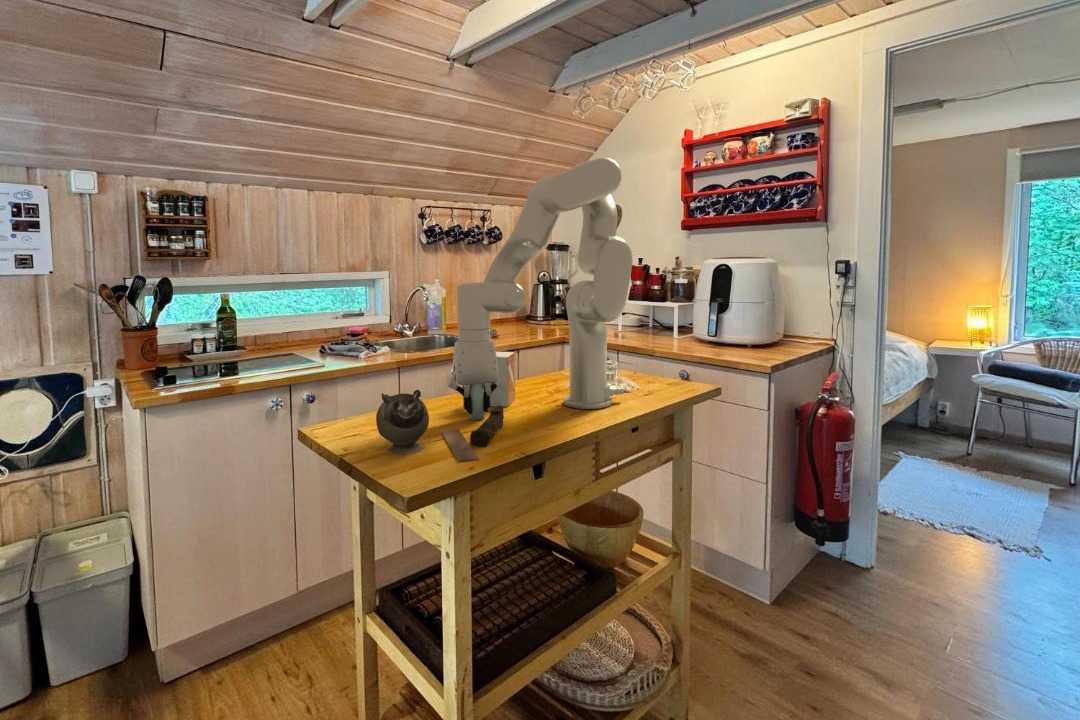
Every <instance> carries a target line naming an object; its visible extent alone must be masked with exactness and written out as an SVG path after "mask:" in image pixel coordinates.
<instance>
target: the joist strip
mask: <svg viewBox="0 0 1080 720" xmlns="http://www.w3.org/2000/svg"><path fill="white" fill-rule="evenodd" d="M440 433H441V434H442V437H443V438H444V440H445V442H446V443H447V445H448V447H449V448H450V450H451V453H453V455H454V457H455V459H456V461H457V462H458V463H462V462H470V461H471V462H472V461H479V460H480V458H479V456H478V455H477V453H476V451H475V450H474V449H473V446H472V445H471V443H469V441H468V440H467V438H466V437H465V436H464V434H463V433H462V431H461V430H460V429H459V428H456V429H455V428H454V429H447V430H441V431H440Z"/></svg>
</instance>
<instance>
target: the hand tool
mask: <svg viewBox="0 0 1080 720" xmlns="http://www.w3.org/2000/svg"><path fill="white" fill-rule="evenodd" d="M504 412H505V411H504V407H503V406H501V405H499V406H494V407H493V408H492V409H490V412H489V416H488V417H487V418H486V419H485V420H484V421H483V422H482V423H481V424H480V425H479V427H477V429H476V430H475V429H474V430H472V431H471V433H470V435H469V436H470V437H469V441H470V443H469V444H470V446H471V447H472V448H487V447H488V445H489V443H490V440H491V439H492V437H493V436H494V435H495V434H496V432H498V430H500V429H502V428H503V426H504V419H505V415H504Z"/></svg>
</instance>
